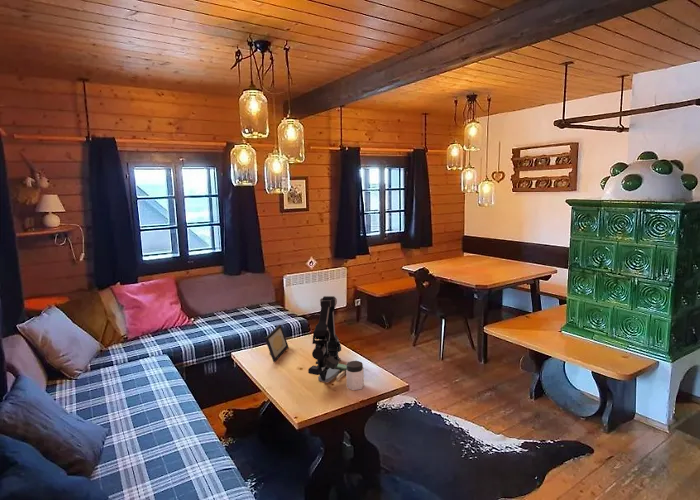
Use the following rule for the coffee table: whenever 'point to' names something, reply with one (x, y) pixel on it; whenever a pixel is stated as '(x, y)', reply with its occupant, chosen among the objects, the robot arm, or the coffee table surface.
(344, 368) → the dock
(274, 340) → the picture frame
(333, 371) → the slate tile
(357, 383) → the jar
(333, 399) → the coffee table surface
